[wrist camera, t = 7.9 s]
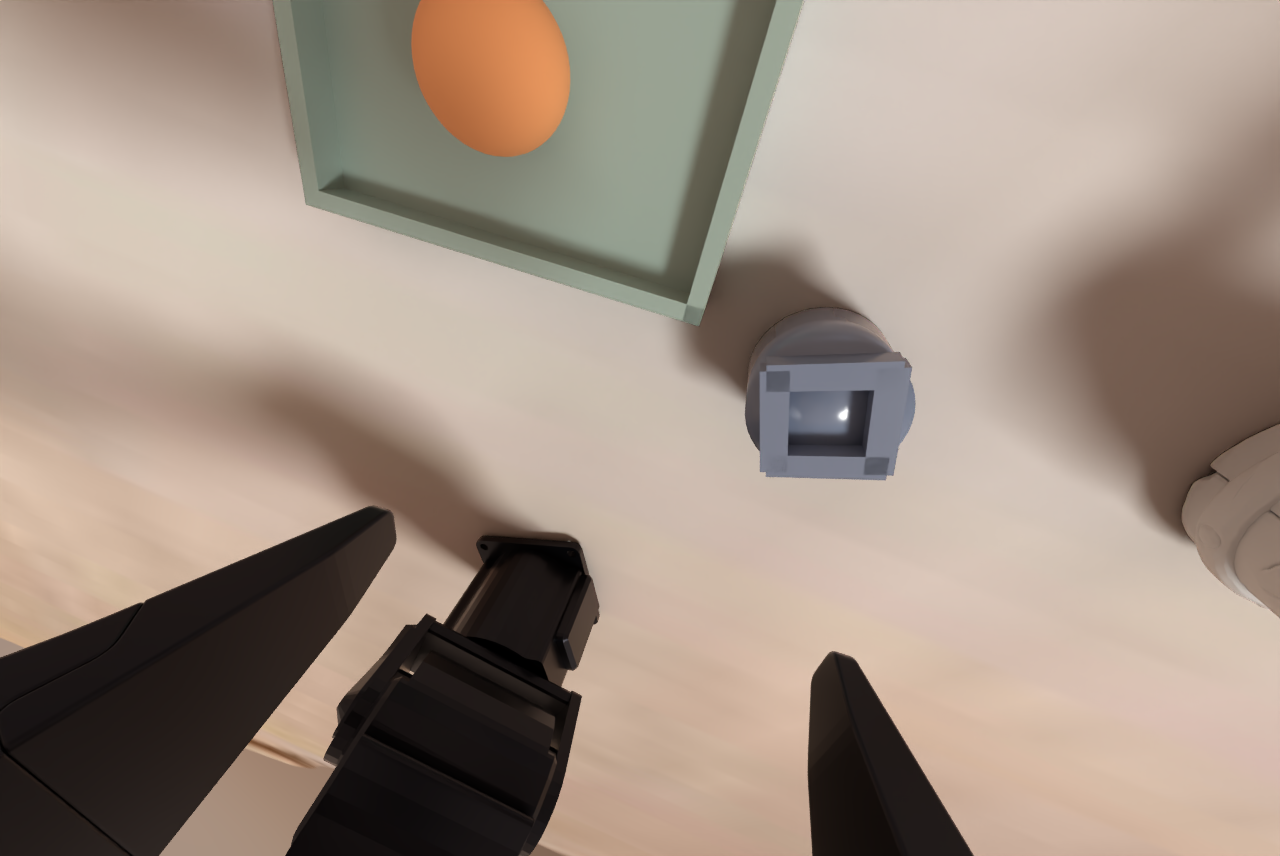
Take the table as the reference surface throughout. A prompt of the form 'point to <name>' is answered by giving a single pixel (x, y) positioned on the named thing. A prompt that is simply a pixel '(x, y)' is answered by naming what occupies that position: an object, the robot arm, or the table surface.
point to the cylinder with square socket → (828, 397)
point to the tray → (551, 141)
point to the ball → (492, 71)
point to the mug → (1241, 519)
